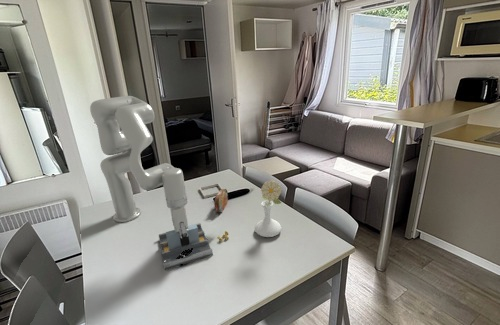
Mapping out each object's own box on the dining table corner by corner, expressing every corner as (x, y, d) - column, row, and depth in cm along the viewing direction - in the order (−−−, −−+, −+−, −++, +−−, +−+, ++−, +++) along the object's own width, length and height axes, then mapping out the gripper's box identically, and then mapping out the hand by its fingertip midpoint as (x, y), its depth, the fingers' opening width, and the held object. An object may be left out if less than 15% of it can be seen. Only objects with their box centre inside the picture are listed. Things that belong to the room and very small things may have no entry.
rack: (159, 239, 113) (158, 234, 112) (201, 227, 120) (200, 223, 119) (164, 270, 96) (163, 264, 95) (212, 255, 102) (212, 249, 101)
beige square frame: (199, 189, 156) (199, 187, 156) (218, 185, 160) (218, 183, 160) (204, 198, 146) (203, 195, 145) (224, 193, 150) (224, 190, 149)
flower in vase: (249, 232, 114) (246, 180, 105) (266, 221, 122) (264, 170, 113) (273, 245, 106) (271, 188, 97) (289, 231, 113) (289, 178, 104)
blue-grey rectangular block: (168, 246, 107) (165, 232, 104) (198, 238, 111) (195, 223, 108) (169, 251, 104) (166, 236, 102) (199, 242, 108) (197, 227, 106)
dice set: (228, 234, 115) (227, 230, 115) (231, 241, 111) (230, 237, 110) (216, 237, 114) (216, 233, 113) (219, 244, 109) (218, 240, 109)
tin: (220, 215, 129) (218, 200, 126) (214, 215, 129) (212, 199, 126) (229, 200, 142) (227, 186, 139) (223, 200, 143) (221, 185, 140)
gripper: (164, 193, 106) (170, 229, 112) (169, 213, 91) (177, 254, 97) (182, 189, 109) (188, 224, 115) (191, 208, 94) (197, 247, 100)
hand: (183, 238), depth 106 cm, fingers open, 9 cm apart
